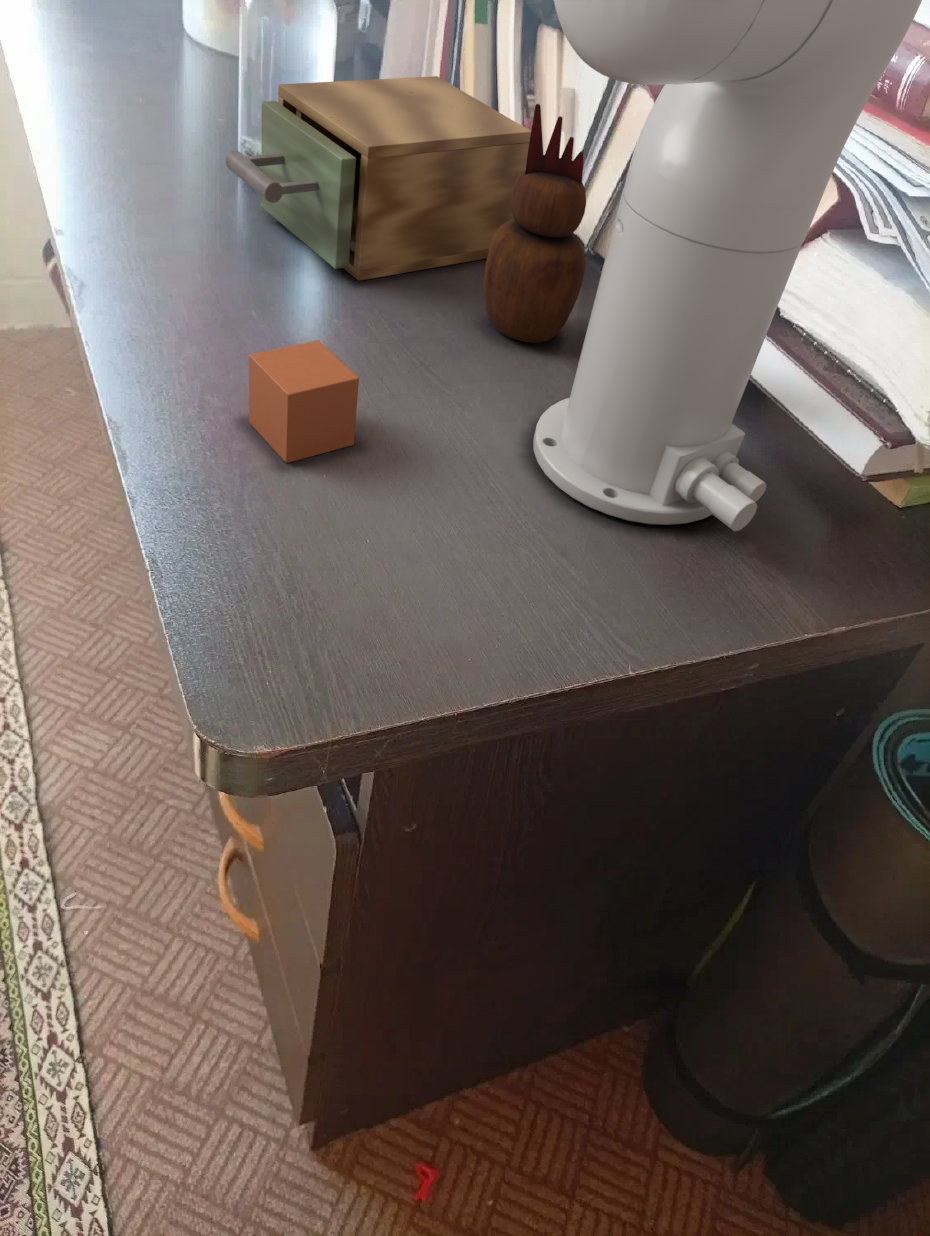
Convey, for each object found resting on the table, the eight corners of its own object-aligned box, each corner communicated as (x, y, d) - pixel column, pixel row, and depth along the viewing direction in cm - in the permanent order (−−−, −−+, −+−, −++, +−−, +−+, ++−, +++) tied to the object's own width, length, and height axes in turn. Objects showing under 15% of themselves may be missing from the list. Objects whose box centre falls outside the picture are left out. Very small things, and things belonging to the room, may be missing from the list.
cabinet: (358, 281, 72) (368, 146, 66) (276, 212, 79) (278, 83, 72) (509, 254, 80) (532, 131, 73) (423, 194, 86) (436, 75, 80)
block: (354, 445, 57) (359, 377, 54) (286, 463, 55) (287, 394, 52) (315, 406, 60) (318, 339, 57) (248, 422, 57) (248, 354, 54)
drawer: (282, 278, 69) (285, 164, 64) (210, 212, 75) (206, 104, 70) (480, 245, 78) (496, 143, 73) (401, 189, 84) (411, 91, 79)
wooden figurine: (463, 329, 69) (499, 103, 59) (497, 301, 73) (537, 85, 63) (548, 362, 68) (600, 136, 57) (579, 332, 72) (633, 115, 61)
